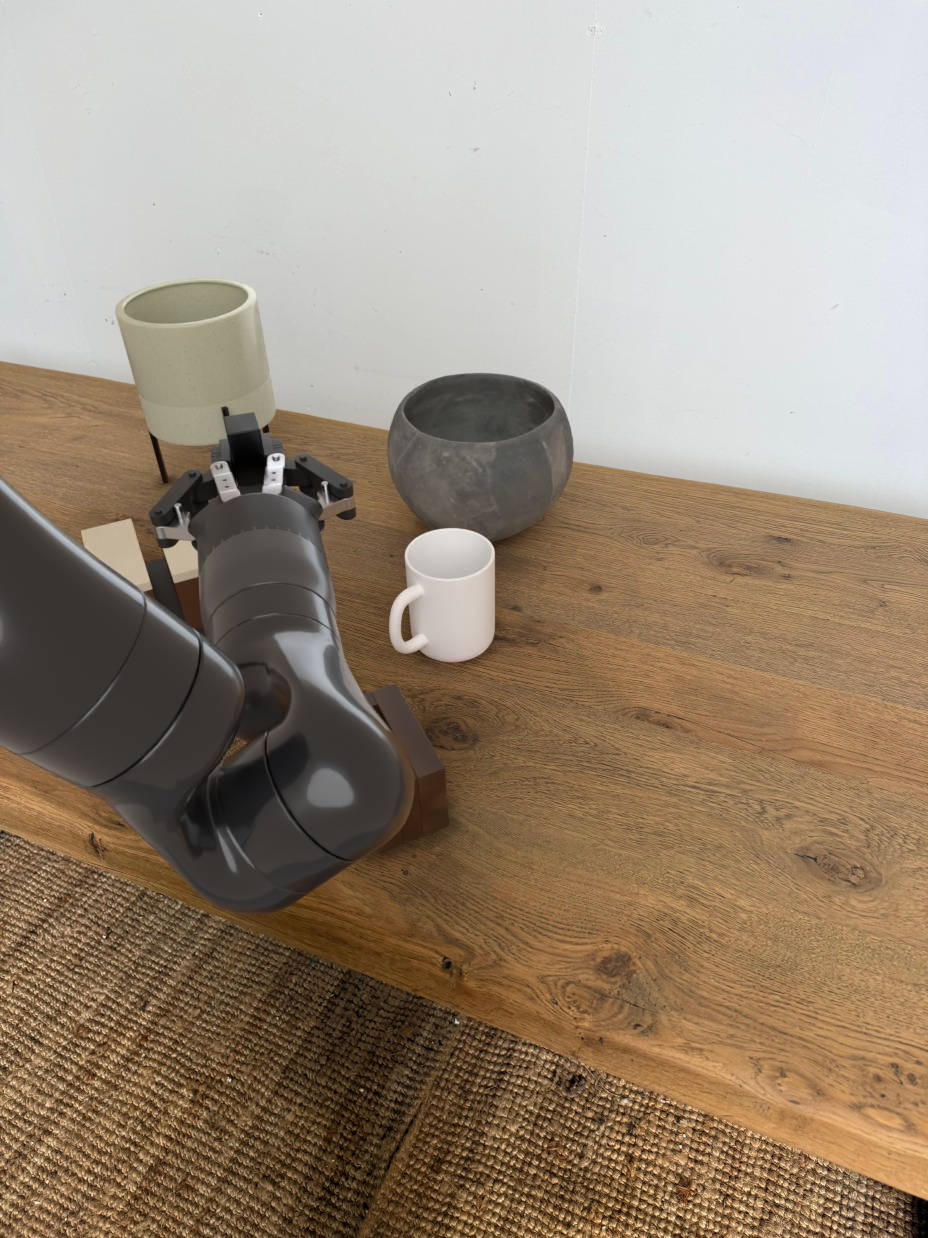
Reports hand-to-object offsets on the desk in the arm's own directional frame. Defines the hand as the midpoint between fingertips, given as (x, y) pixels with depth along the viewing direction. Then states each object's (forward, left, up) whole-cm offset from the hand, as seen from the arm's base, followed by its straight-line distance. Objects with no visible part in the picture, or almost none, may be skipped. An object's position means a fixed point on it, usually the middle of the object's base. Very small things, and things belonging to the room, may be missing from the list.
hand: (246, 447), depth 63 cm
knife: (-1, -3, -13) cm, 13 cm away
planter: (+3, +42, -26) cm, 49 cm away
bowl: (+28, +19, -26) cm, 42 cm away
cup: (+15, +1, -26) cm, 30 cm away
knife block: (+4, -14, -26) cm, 30 cm away
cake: (-8, +19, -26) cm, 33 cm away
